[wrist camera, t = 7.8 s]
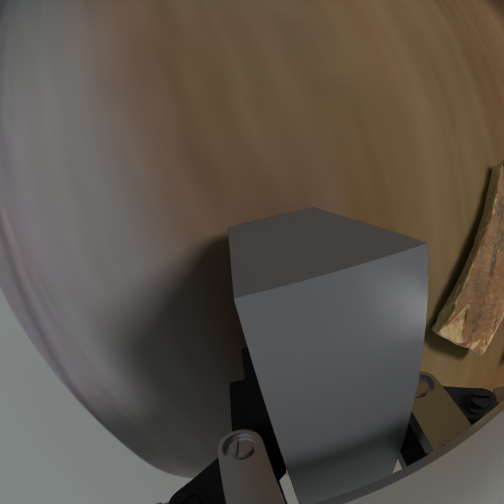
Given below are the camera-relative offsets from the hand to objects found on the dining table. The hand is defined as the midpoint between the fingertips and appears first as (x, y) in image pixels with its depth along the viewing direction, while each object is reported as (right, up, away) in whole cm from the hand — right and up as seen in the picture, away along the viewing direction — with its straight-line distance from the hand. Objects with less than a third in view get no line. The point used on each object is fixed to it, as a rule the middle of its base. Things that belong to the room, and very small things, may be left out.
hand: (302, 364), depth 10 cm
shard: (+11, +3, +2) cm, 12 cm away
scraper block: (0, 0, 0) cm, 1 cm away
